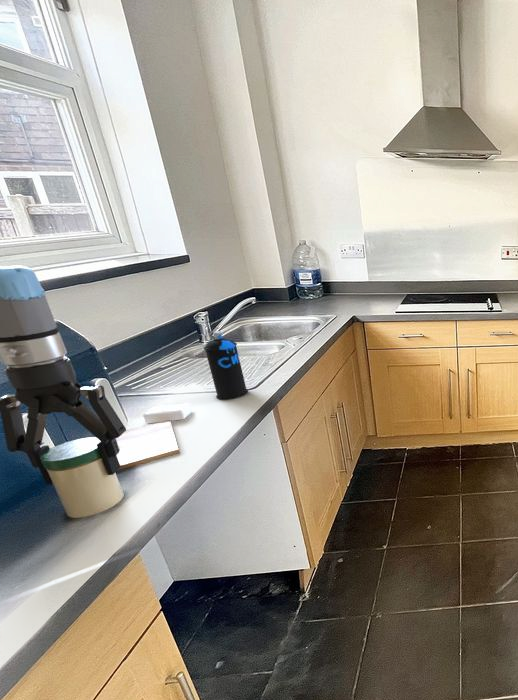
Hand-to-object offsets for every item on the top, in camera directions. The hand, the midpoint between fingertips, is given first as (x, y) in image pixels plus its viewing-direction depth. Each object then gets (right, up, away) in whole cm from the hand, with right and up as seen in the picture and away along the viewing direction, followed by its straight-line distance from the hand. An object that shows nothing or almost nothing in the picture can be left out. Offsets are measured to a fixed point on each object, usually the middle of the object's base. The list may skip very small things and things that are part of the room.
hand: (85, 475), depth 77 cm
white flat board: (-10, +1, +22) cm, 24 cm away
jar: (0, -6, +2) cm, 6 cm away
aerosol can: (-7, +12, +51) cm, 53 cm away
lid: (0, +5, -2) cm, 6 cm away
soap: (-14, +6, +36) cm, 39 cm away
